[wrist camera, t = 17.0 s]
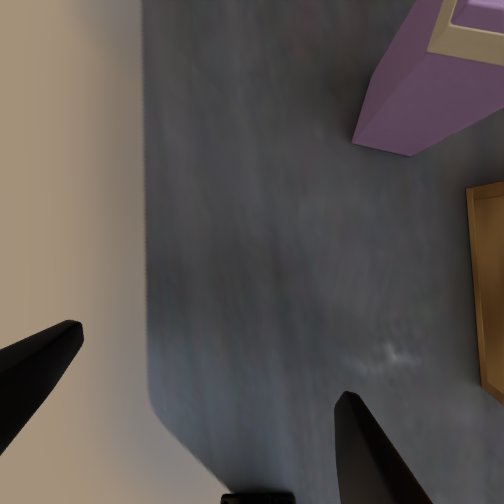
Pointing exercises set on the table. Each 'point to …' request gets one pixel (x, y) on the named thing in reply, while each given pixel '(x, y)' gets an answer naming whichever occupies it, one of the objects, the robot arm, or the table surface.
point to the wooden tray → (488, 281)
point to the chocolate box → (435, 76)
